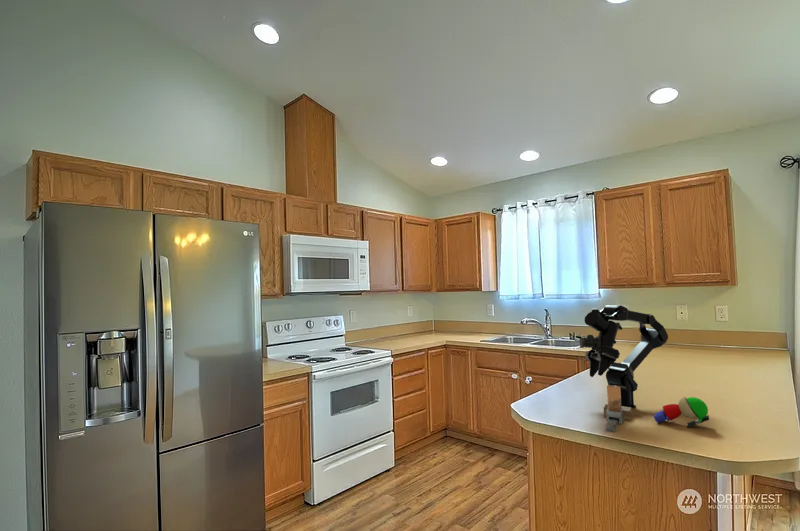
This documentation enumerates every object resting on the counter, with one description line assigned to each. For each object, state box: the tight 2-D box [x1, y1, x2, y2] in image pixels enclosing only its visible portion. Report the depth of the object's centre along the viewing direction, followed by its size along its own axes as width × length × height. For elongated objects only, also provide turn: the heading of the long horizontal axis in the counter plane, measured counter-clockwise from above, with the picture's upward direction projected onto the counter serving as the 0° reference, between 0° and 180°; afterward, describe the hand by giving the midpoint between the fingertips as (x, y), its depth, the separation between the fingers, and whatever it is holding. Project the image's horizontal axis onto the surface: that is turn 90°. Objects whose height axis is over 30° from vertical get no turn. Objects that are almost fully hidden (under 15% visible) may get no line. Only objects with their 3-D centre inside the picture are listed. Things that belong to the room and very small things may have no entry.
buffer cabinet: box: [603, 403, 633, 421], centre depth 145 cm, size 5×8×3 cm, turn 56°
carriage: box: [605, 384, 624, 424], centre depth 140 cm, size 5×4×11 cm
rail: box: [605, 417, 620, 433], centre depth 136 cm, size 15×2×2 cm, turn 146°
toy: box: [653, 396, 710, 428], centre depth 135 cm, size 8×8×15 cm
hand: (595, 376), depth 153 cm, fingers open, 9 cm apart
